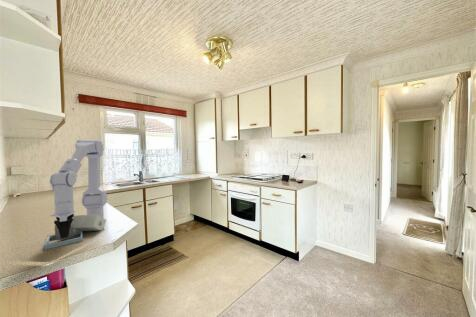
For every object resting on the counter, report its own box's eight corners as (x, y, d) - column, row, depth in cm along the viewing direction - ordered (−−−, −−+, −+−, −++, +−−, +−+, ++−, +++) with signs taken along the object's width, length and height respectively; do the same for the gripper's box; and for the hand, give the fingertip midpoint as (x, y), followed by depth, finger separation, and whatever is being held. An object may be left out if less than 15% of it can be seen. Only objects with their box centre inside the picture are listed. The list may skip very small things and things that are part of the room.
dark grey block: (52, 237, 79) (52, 228, 79) (73, 233, 83) (73, 224, 83) (51, 242, 75) (50, 231, 75) (73, 237, 79) (73, 227, 79)
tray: (48, 242, 80) (48, 236, 80) (82, 235, 87) (82, 229, 87) (44, 252, 72) (44, 245, 72) (82, 243, 79) (82, 237, 79)
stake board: (47, 236, 87) (47, 222, 87) (76, 230, 93) (76, 217, 93) (45, 242, 80) (44, 228, 80) (76, 236, 86) (76, 222, 86)
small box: (97, 214, 88) (73, 215, 87) (93, 227, 85) (67, 228, 84) (106, 219, 95) (83, 220, 94) (103, 231, 92) (79, 232, 91)
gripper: (52, 200, 83) (53, 232, 83) (48, 206, 71) (49, 243, 71) (74, 197, 87) (75, 228, 87) (73, 203, 76) (74, 238, 76)
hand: (65, 234), depth 79 cm, fingers closed on dark grey block, 5 cm apart
